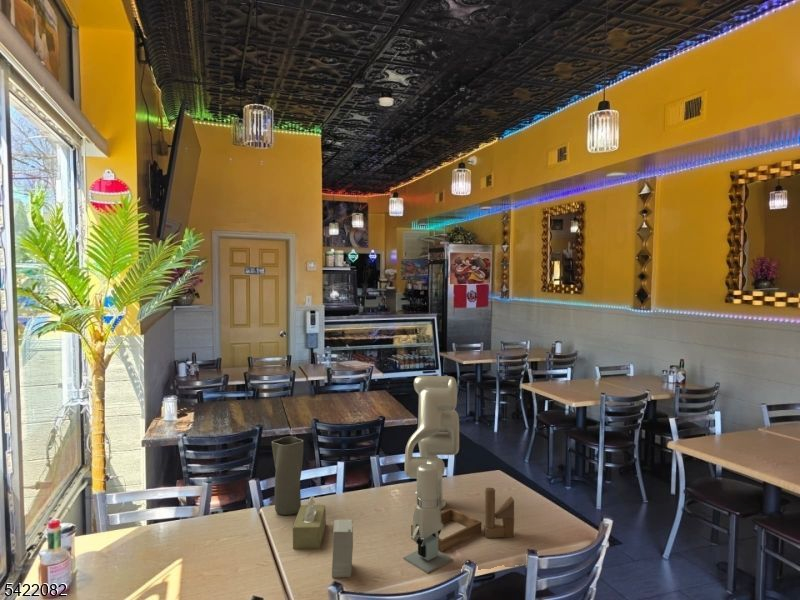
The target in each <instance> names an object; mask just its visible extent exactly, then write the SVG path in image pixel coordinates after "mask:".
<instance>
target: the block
mask: <svg viewBox="0 0 800 600" xmlns="http://www.w3.org/2000/svg"><path fill="white" fill-rule="evenodd" d="M420 540H421V541H422V538H421V539H420ZM424 545H425V546H426V557H422V556H421V557H422V558H424V559H426V560H430V559H432V558H434V557H436V556H438V538H437V537H435V536H433V535H429V536H427V537H426V539H425V544H424ZM418 555H419V554H418ZM419 556H420V555H419Z"/></svg>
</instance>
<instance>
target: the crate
mask: <svg viewBox="0 0 800 600" xmlns="http://www.w3.org/2000/svg"><path fill="white" fill-rule="evenodd" d="M449 521H453V522H455V523H458V524H460V525H462V526H464V528H463V529H460V530H458V531H456V532H454V533H452V534H450V535H448V536H445V537H444V538H440V537H439V539H438V551H439V552H441V553H444V552H445V551H448V550H450V549H452V548H453V547H456V546H457V545H459V544H462V543H463V542H465V541H467V540H469V539H471V538H473V537H475V536H477V535H479V534H480V533H482V521H480V520H479V519H475V518H474V517H472V516H470V515H468V514H465V513H462V512H460V511H458V510H456V509H453V508H448V509H446V510H444V511H441V522H442V524H444V523H446V522H449ZM410 527H411V529H410V534H411V535H410V536H411V537H412V535H413V524H412V525H410ZM417 537H418V536H417Z"/></svg>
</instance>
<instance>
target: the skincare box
mask: <svg viewBox="0 0 800 600" xmlns="http://www.w3.org/2000/svg"><path fill="white" fill-rule="evenodd" d="M353 523H354V520H353V519H334V521H333V530H332V531H333V534H332V535H333V538H332V541H333V542H332V563H331V566H332V567H331V578H351V577H352V568H353V551H354V550H353V548H354V524H353Z"/></svg>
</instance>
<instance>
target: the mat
mask: <svg viewBox="0 0 800 600" xmlns="http://www.w3.org/2000/svg"><path fill="white" fill-rule="evenodd" d="M402 558H403V560H404V561H406V562H408V563H409V564H412V565H413V566H415V567H416V568H417V569H419V570H421V571H423V572H424V573H426V574H430V573H431V572H434V571H435V570H437V569H439V568H441V567H442V566H445V565H446V564H448V563H450V562H452V561H453V558H452V557H450V556H449V555H448V554H445V553H444V552H440V551H438V556H436V557H434V558H432V559H430V560H426V559H424V558H422V557H421V556H419V555H418V549H417V550H415V551H413V552H412V553H409V554H407V555H404V556H403V557H402Z"/></svg>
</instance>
